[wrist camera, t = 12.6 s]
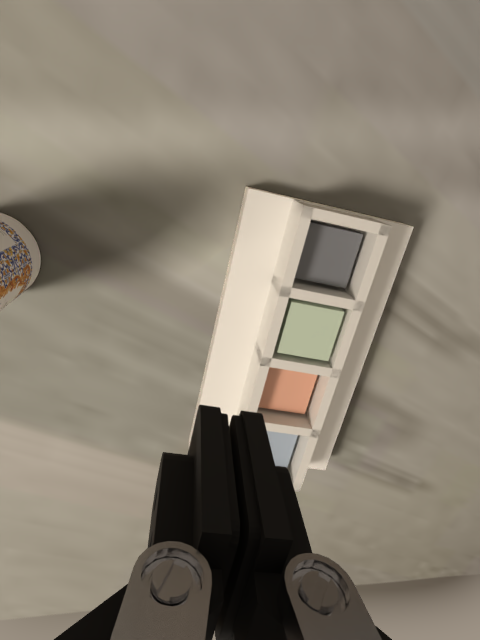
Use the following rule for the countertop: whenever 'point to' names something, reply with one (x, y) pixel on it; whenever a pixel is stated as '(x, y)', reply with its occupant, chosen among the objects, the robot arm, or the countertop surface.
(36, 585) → the countertop surface
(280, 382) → the key
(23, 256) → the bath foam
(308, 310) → the key
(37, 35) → the countertop surface
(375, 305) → the white compartment tray
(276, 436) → the key
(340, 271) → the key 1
